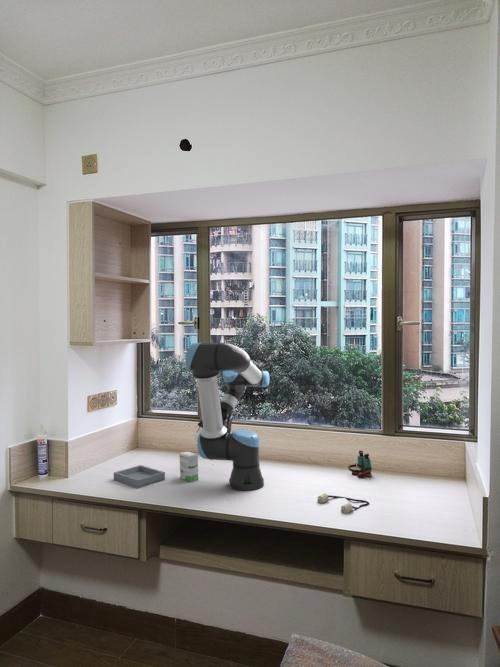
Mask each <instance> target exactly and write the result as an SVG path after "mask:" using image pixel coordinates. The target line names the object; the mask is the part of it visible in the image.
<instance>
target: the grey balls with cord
mask: <svg viewBox="0 0 500 667" xmlns="http://www.w3.org/2000/svg"><path fill="white" fill-rule="evenodd" d="M329 498H333V499H334V498H335V499H336V498H337V499H346V500H348V501H353V502H359V503H363V504H360V505H359V506H358V507H356V506H354V505H353V504H351V503H350V502H347V503H345V504H343V505H341V507H340V512H341V513H344V514H348V513H350V512H353V510H359V509H361V508H362V507H366V506H369V505H370V502H369V501H367V500H364V499H355V498H351V497H345V496H340V495H339V496H338V495H331V494H330V495H328V493H326V492H325V493H322V494H319V495H318V496H317V502H319V503H321V504H325V503H326V502H329Z"/></svg>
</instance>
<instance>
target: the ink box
mask: <svg viewBox="0 0 500 667" xmlns="http://www.w3.org/2000/svg"><path fill="white" fill-rule="evenodd" d="M179 477H180V479H182V480H184V481H187V482H189V483H193V482H196V481H199V480H200V479H199V478H200V477H199V457H198V454H196V453H194V452H192V451H191V452H190V451H181V452H180V453H179Z"/></svg>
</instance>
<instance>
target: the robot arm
mask: <svg viewBox="0 0 500 667" xmlns="http://www.w3.org/2000/svg"><path fill="white" fill-rule="evenodd" d="M186 350H187V351H186V354H185V363H184V364H185V368H186V370H187V371H188V372H191V374H192V378H194V379H195V380H196V384H197V392H198V398H199V406H200V411H201V412H200V413H201V414H200V415H201V421H199V422H198V423H197V426H198V429H197V430H196V433H195V435H194V437H193V439H194V440H195V441H196V442H197V444H196V446H197V447H196V448H197V452H198V454H199V456H200V457H201V458H202V459H204V460H210V461H214V460H215V461H229V462H230V461H231V462H232V469H231V472H230V473H231V474H230V477H229V479H228V486H229V487H230V488H231V489H233V490H236V491H255V490H258V489H261V488H263V487H264V485H265V480H264V477H263V474H262V471H261V468H260V438H259V435H258V434H257V433H256V432H255V431H252V430H247V429H235V430H232V425H233V424H232V423H233V420H234V416H233V415H232V414H233V411H234V409H235V408H236V407H237V405H238V403H239V401H240V399H241V397H242V396H243V394H244V393H245V391H246V389H247V387H251V388H252V387H253V388H255V387H257V388H266V387H269V385H270V380H271V379H270V378H271V376H270V373H269V371H267V370H260V369H259V368H258V367H257V366H256V365H255V363H253V362H252V361H251V357H250V355H249V354H248V353H247V352H246V350H244V349H243V348H241V347H239V346H236V345H234V344H232V343H229V342H201V341H200V342H195V343H191V344H190V345H189V346H188V348H187V349H186ZM221 372H222V377H223V381H224V383H225V385H226V389H227V390H226V392H225V394H223V397H222V398H221V397H220V392H219V382H218V376H219V375H220V374H221ZM220 398H221V400H220ZM231 431H232V432H231Z"/></svg>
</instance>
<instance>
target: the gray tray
mask: <svg viewBox="0 0 500 667" xmlns="http://www.w3.org/2000/svg"><path fill="white" fill-rule="evenodd" d="M113 481H116V482H117V483H121V484H124V485H127V486H129V487H132V488H136V489H140V488H143V487H146V486H150V485H153V484H156V483H159V482H162V481H166V472H165V471H162V470H159V469H155V468H151V467H148V466H146V465H141V464H140V465H136V466H132V467H128V468H124V469H121V470H118V471H114V472H113Z"/></svg>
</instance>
